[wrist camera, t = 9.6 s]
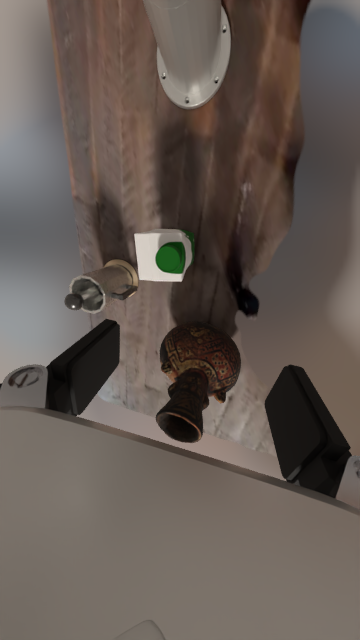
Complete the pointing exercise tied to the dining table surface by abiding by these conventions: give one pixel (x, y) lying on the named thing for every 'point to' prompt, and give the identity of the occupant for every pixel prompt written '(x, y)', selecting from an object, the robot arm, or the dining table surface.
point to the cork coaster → (128, 266)
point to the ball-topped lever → (78, 299)
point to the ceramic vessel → (195, 376)
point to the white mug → (104, 287)
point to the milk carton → (164, 254)
